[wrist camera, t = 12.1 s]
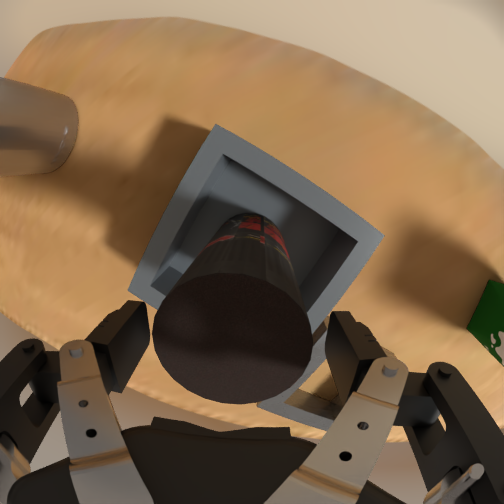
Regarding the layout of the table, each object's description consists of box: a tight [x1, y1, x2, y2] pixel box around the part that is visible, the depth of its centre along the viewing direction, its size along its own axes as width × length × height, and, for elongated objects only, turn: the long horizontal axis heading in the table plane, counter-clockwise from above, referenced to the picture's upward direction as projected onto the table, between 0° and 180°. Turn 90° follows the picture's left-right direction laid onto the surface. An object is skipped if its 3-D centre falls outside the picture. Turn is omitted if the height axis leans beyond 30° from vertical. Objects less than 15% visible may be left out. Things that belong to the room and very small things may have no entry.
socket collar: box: [257, 316, 397, 431], centre depth 27 cm, size 12×12×4 cm
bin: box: [128, 124, 385, 334], centre depth 22 cm, size 14×14×6 cm
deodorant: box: [152, 213, 313, 404], centre depth 17 cm, size 6×6×15 cm
